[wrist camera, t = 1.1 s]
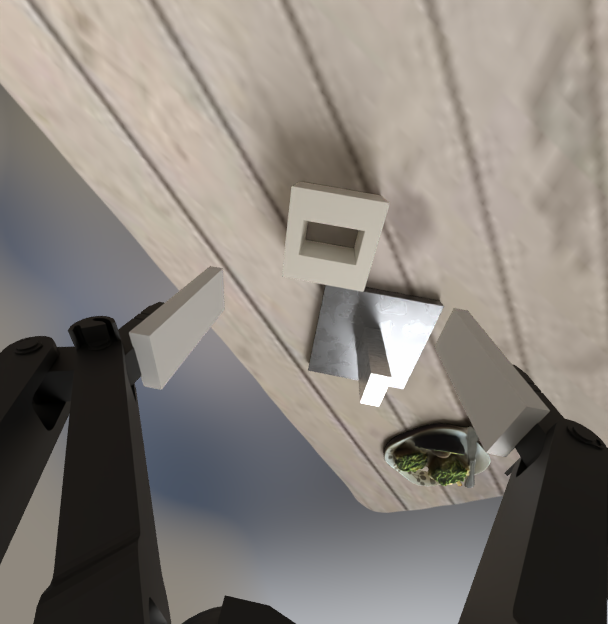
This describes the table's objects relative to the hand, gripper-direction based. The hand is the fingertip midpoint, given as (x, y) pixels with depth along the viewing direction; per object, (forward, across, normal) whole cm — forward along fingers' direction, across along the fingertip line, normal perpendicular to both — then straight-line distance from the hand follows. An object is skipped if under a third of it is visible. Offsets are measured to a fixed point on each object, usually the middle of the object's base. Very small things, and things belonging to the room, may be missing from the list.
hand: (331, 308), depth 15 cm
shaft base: (+19, +7, -14) cm, 24 cm away
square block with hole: (+19, -1, 0) cm, 19 cm away
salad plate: (+19, +26, -37) cm, 49 cm away
